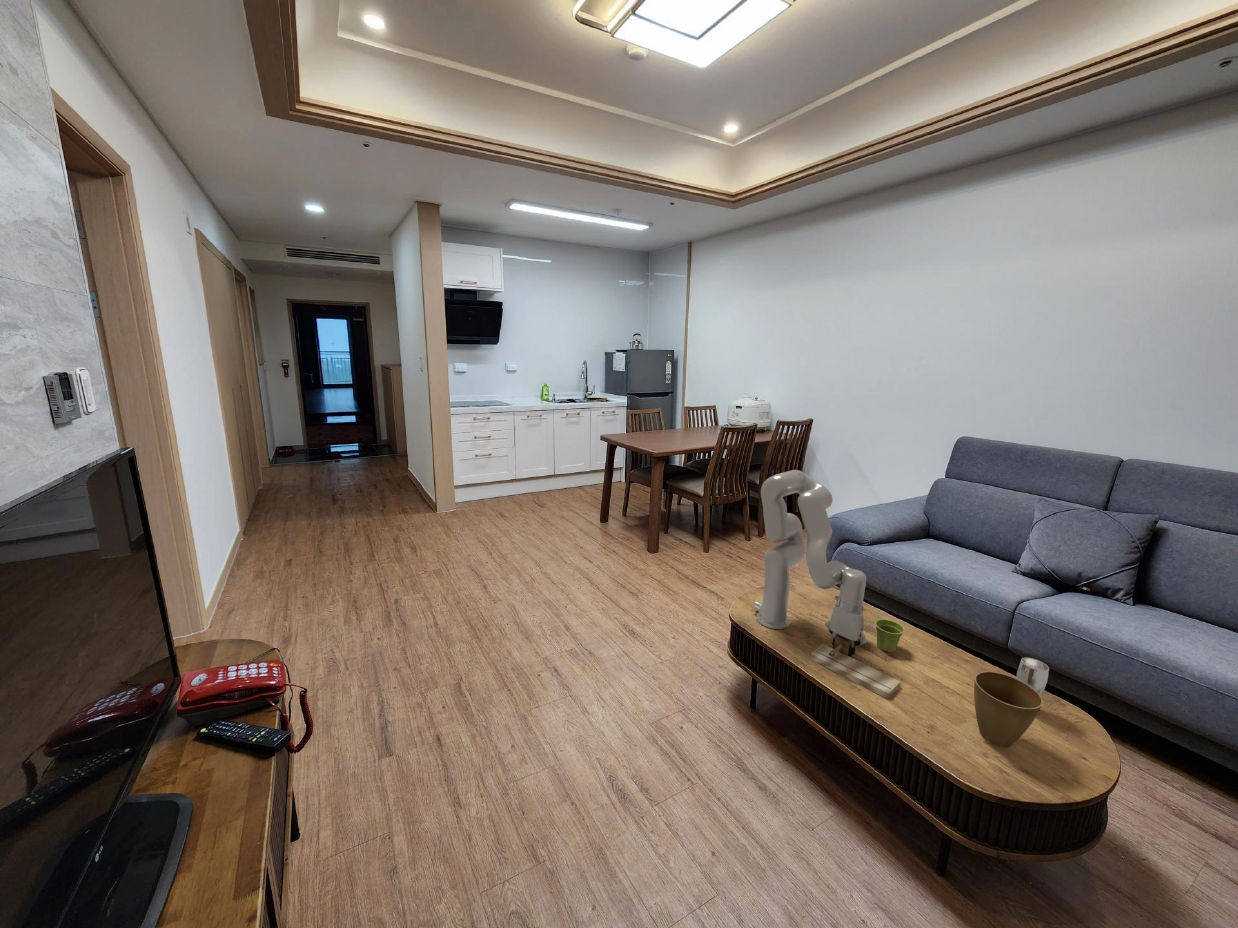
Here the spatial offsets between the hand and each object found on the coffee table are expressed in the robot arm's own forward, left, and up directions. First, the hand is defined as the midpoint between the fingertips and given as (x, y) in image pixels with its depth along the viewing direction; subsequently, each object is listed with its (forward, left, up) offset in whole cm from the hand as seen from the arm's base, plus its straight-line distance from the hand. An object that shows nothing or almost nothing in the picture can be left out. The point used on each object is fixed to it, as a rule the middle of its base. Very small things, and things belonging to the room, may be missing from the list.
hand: (842, 650), depth 176 cm
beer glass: (+48, +18, -2) cm, 51 cm away
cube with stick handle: (0, -4, -1) cm, 4 cm away
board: (+7, -7, -1) cm, 10 cm away
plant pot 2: (+46, -4, -2) cm, 46 cm away
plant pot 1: (+8, +17, -2) cm, 19 cm away
